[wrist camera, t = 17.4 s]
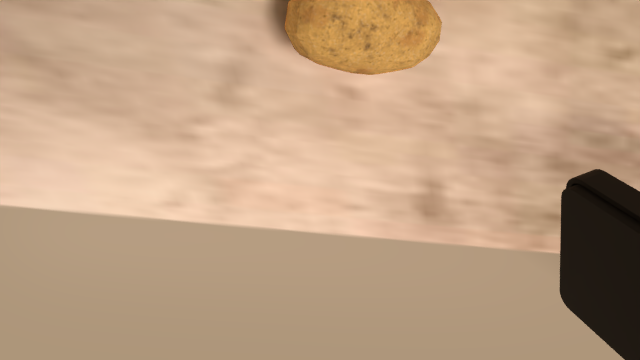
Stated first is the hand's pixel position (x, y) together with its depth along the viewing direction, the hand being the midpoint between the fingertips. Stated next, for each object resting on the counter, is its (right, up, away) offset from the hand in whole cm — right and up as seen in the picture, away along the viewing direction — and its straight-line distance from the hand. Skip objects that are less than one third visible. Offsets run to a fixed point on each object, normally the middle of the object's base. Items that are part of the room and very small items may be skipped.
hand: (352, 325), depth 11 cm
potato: (+1, +15, +32) cm, 35 cm away
